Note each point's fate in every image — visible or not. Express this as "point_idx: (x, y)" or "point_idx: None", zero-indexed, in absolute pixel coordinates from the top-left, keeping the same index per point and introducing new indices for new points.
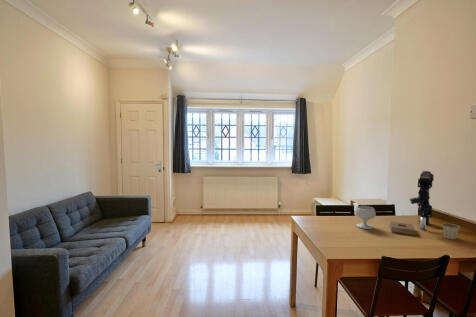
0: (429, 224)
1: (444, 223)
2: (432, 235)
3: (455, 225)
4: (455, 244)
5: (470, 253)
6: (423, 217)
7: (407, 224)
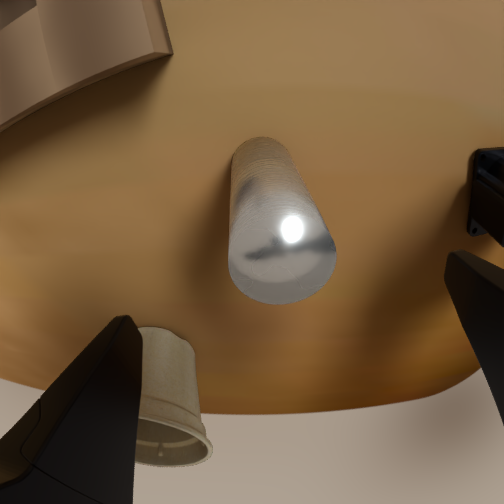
0: (469, 228)
1: (180, 427)
2: (107, 258)
3: (198, 456)
4: (52, 358)
5: (5, 378)
6: (302, 266)
7: (79, 8)
